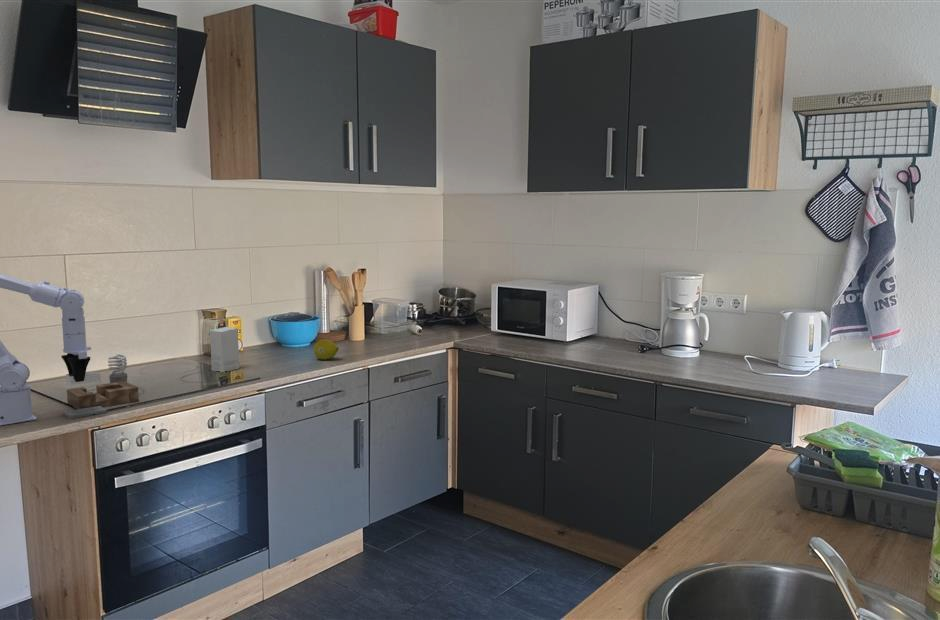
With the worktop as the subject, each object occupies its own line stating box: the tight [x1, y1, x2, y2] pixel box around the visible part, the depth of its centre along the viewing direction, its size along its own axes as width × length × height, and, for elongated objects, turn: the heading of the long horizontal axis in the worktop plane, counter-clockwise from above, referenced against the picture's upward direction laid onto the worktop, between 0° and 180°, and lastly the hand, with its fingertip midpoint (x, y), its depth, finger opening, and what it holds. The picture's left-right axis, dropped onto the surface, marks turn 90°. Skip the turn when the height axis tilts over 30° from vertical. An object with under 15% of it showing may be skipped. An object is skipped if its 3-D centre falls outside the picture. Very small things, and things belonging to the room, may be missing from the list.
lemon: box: [313, 339, 339, 361], centre depth 297 cm, size 11×8×8 cm
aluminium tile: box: [65, 371, 101, 386], centre depth 215 cm, size 8×4×2 cm, turn 134°
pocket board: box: [66, 381, 140, 410], centre depth 229 cm, size 17×12×4 cm
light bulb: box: [107, 353, 128, 383], centre depth 244 cm, size 6×6×12 cm
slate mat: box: [62, 406, 108, 420], centre depth 217 cm, size 10×6×1 cm, turn 133°
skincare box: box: [209, 326, 240, 373], centre depth 276 cm, size 8×7×16 cm
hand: (77, 380), depth 214 cm, fingers closed on aluminium tile, 4 cm apart
